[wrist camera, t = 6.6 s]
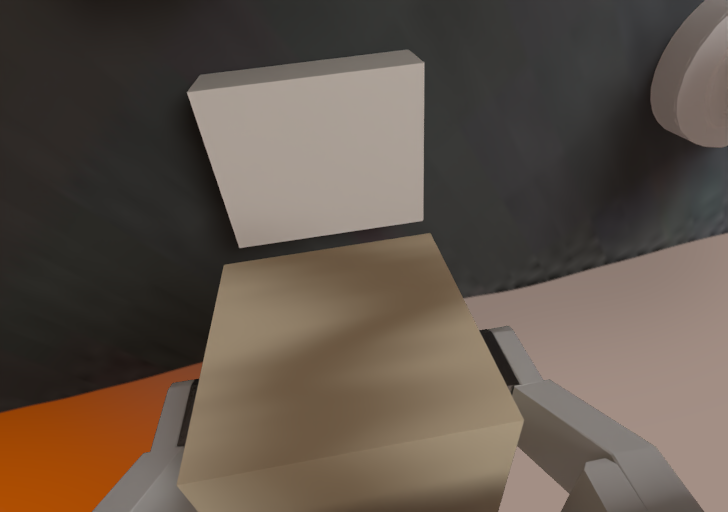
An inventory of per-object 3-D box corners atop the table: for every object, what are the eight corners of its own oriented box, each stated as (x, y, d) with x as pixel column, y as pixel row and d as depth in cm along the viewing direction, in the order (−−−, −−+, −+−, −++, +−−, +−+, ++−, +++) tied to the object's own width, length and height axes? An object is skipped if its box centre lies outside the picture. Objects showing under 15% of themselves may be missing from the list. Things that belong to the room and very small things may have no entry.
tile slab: (408, 49, 20) (424, 62, 17) (410, 194, 24) (423, 220, 22) (199, 74, 19) (186, 92, 17) (244, 218, 24) (239, 248, 21)
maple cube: (430, 233, 10) (524, 420, 6) (427, 362, 13) (488, 543, 9) (223, 264, 10) (176, 485, 6) (271, 389, 13) (262, 590, 9)
